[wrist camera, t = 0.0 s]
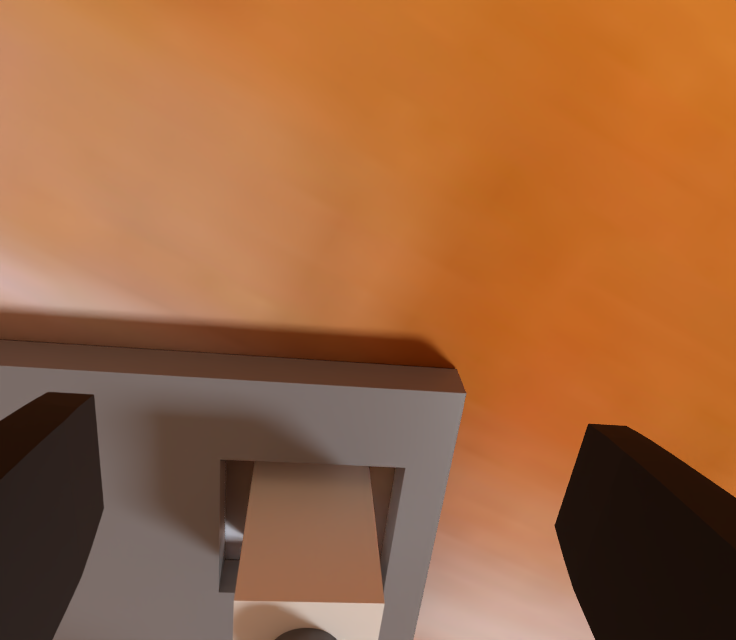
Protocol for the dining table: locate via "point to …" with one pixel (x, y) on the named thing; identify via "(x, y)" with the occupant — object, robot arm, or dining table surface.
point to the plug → (309, 555)
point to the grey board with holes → (208, 470)
